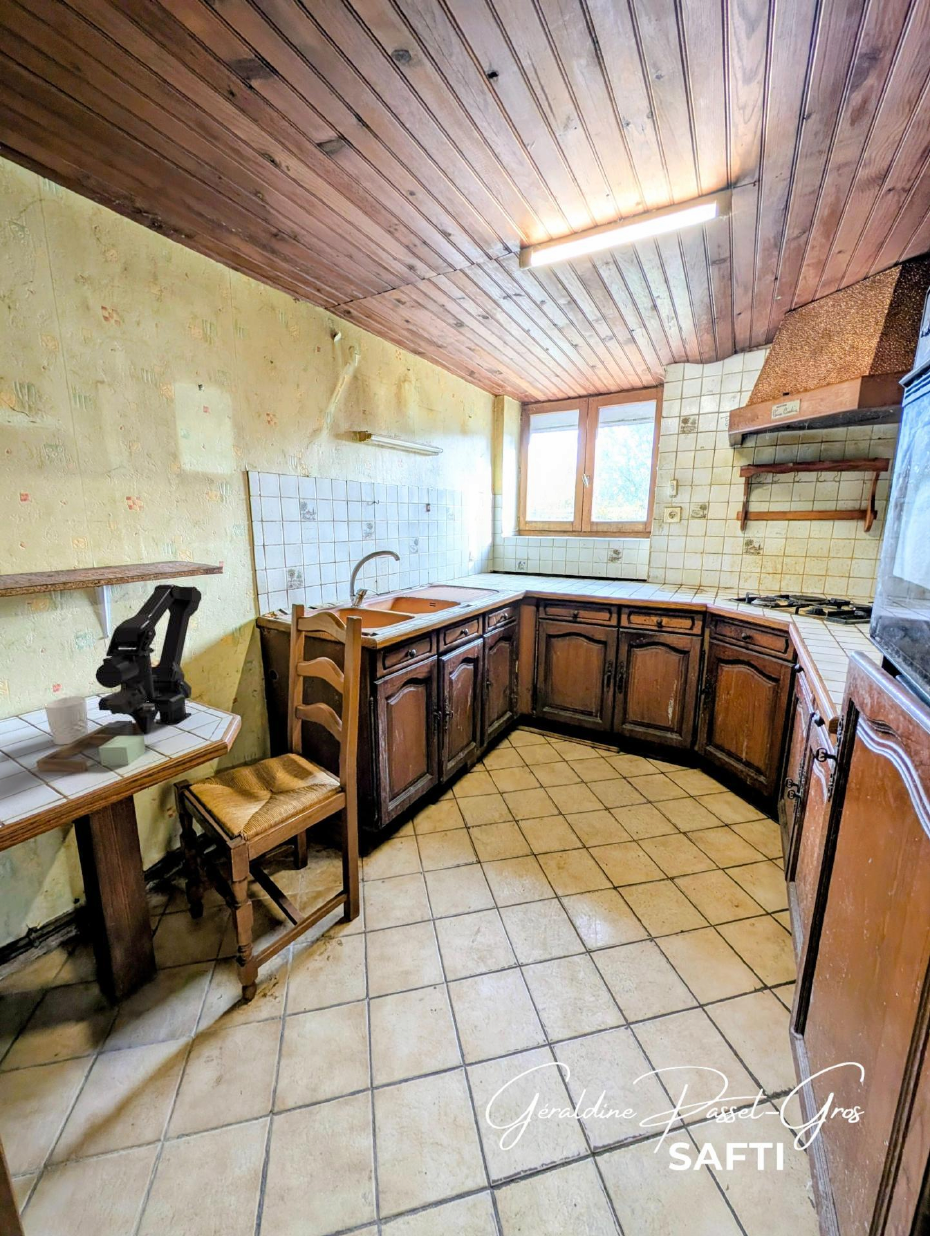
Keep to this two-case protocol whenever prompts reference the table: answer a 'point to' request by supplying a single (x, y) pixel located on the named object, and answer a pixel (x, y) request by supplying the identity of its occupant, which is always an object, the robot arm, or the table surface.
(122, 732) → the slate grey cube
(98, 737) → the walnut slot rack
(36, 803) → the table surface
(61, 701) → the white cup
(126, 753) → the sage green block
